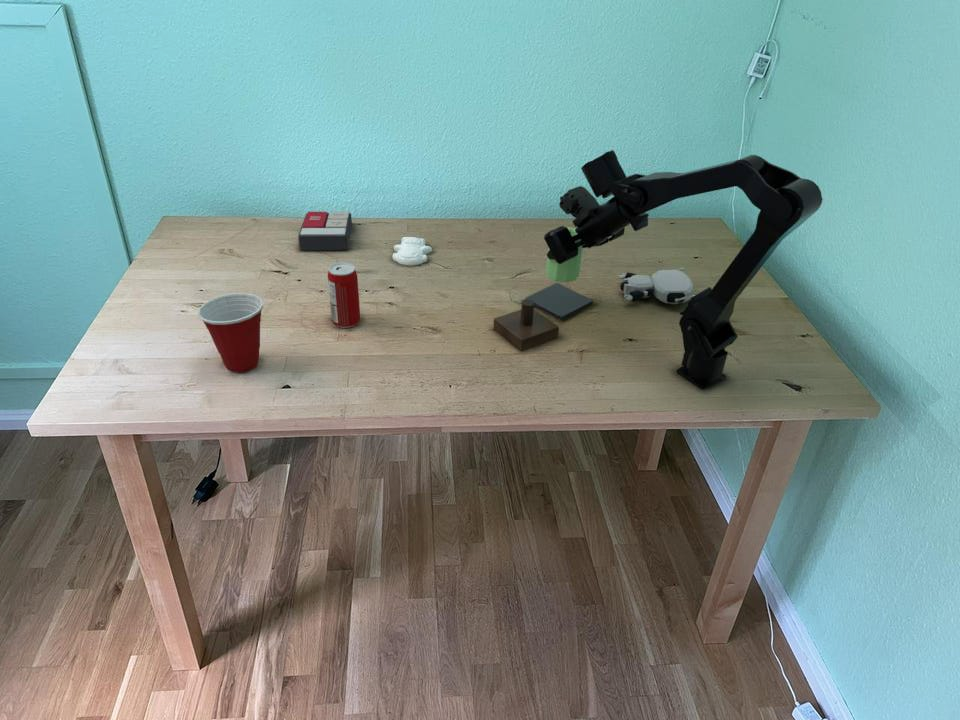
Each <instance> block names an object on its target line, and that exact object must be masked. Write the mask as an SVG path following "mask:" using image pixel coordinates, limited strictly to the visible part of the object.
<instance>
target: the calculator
mask: <svg viewBox="0 0 960 720" xmlns="http://www.w3.org/2000/svg"><path fill="white" fill-rule="evenodd" d="M352 219H353V217H352V213H351V212H349V211H329V212H328V211H307V212H306V213H305V216H304V219H303V220H302V221H303V222H302V224H301V227H300V230H299V232H298V237H297V238H298V246H299V251H348V249H349V245H350V238H351V237H350V236H351V232H352V227H353V221H352Z"/></svg>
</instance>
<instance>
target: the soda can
mask: <svg viewBox="0 0 960 720" xmlns="http://www.w3.org/2000/svg"><path fill="white" fill-rule="evenodd" d="M327 283H328V294H329V304H330V313H331V314H330V315H331V322H332V323H333V325H335V326H336V327H337V328H340V329H341V328H342V329H348V328H353V327H355V326H357V324H359V323H360V322H361V309H360V307H361V306H360V292H359V280H358V273H357V271H356V267H355V265H354V264H352V263H351V262H345V261H342V262H335V263H333V264H330V265H329V267H328V271H327Z"/></svg>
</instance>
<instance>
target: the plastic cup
mask: <svg viewBox="0 0 960 720" xmlns="http://www.w3.org/2000/svg"><path fill="white" fill-rule="evenodd" d="M263 308H264V300H263V298H261V297H260V296H259V295H257V294H253V293H249V292H235V293H227V294H223V295H220V296H219V295H218V296H216V297H213V298H211V299H209V300H208V301H205V302H204V303H202V304H201V306H199V308H198V309H197V317H198V318H199V319H200V320H201V321H202V322H203V324H204V325H205V327H206V329H207V331H208V333H209V335H210V337H211V340H212V342H213V344H214V346H215V348H216V350H217V353H218V354H219V356H220V358H221V361H222V364H223V365H224V367H225V368H226V369H227V371H229V372H232V373H240V374H241V373H246V372H250V371H252V370H253V369H255V368H257V366H258V365H259V364H260V363H259V361H260V348H261V321H262V310H263Z"/></svg>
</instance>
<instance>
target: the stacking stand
mask: <svg viewBox="0 0 960 720" xmlns="http://www.w3.org/2000/svg"><path fill="white" fill-rule="evenodd" d="M520 306H521V308H520V309H519V310H515V311H512V312H509V313H506V314H504V315H501V316H497V317H495V318H493V327H492V328H493V330H494V332H496V333H497V334H499V335H500V336H501V337H503V338H504V339H505V340H506V341H508V342H509V343H510V344H511V345H512V346H514V347H516V348H517V349H518V350H519V351H521V352H523V351H526V350H528V349H531V348H533V347H536V346H540V345H542V344H544V343H547V342H549V341H553V340H554V339H558V338H559V331H560V326H559V325H558V324H556V323H555V322H553V321H552V320H551V319H549V318H548V317H546V316H545V315H543V314H542V313H540V312H539V311H537V309H535V307H534V301H533V300H530V299H526V298H524V299H523V300H522V301H521V305H520Z"/></svg>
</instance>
